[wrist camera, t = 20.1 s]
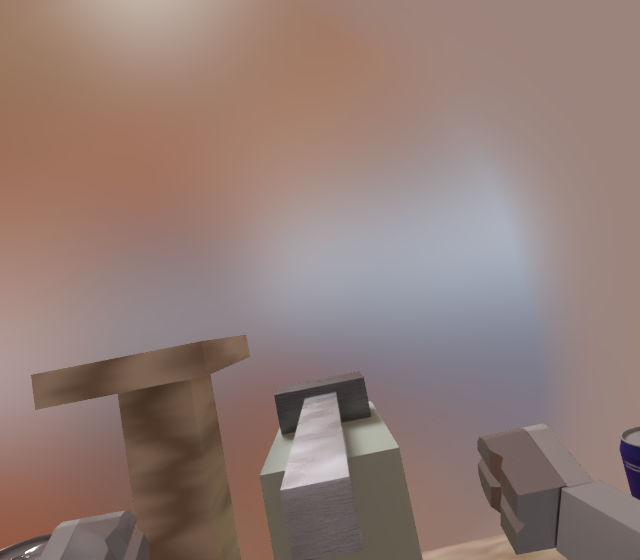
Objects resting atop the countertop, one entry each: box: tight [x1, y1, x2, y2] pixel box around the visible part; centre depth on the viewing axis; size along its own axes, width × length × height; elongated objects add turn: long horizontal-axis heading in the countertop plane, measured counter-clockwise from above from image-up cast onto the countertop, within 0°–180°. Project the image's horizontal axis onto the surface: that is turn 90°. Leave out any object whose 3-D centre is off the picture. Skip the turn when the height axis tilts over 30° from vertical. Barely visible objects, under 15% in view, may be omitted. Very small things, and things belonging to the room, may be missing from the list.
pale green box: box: [260, 402, 423, 560], centre depth 30 cm, size 8×14×16 cm, turn 0°
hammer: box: [274, 372, 372, 560], centre depth 25 cm, size 7×22×3 cm, turn 179°
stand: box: [31, 335, 250, 560], centre depth 30 cm, size 10×14×24 cm
